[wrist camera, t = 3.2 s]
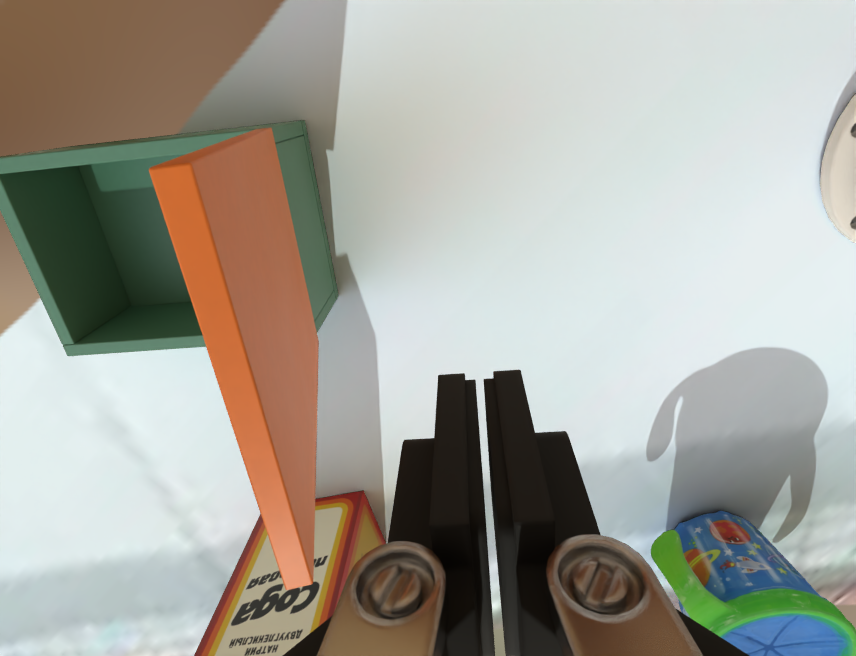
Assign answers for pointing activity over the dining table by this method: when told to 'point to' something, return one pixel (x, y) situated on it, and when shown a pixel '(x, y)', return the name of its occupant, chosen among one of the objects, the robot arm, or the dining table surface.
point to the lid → (253, 324)
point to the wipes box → (135, 237)
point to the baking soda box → (296, 608)
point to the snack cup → (748, 590)
